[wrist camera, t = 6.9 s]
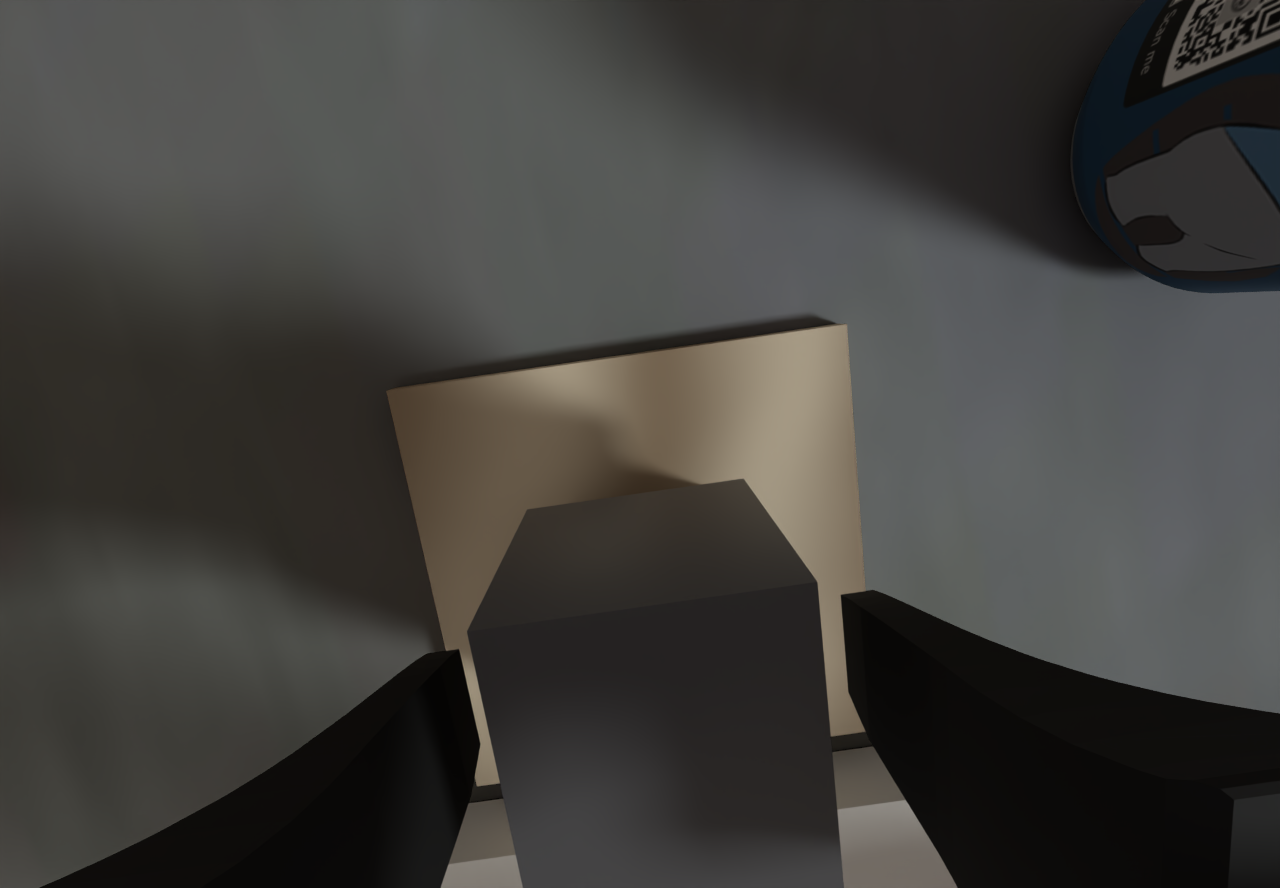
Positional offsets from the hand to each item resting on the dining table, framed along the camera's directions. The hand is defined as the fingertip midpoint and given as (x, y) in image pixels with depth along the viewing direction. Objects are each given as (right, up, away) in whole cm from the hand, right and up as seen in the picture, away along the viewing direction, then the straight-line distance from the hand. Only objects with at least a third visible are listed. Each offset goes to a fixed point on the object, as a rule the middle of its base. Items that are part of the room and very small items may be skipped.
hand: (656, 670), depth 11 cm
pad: (0, +1, +5) cm, 5 cm away
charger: (0, +1, +4) cm, 4 cm away
